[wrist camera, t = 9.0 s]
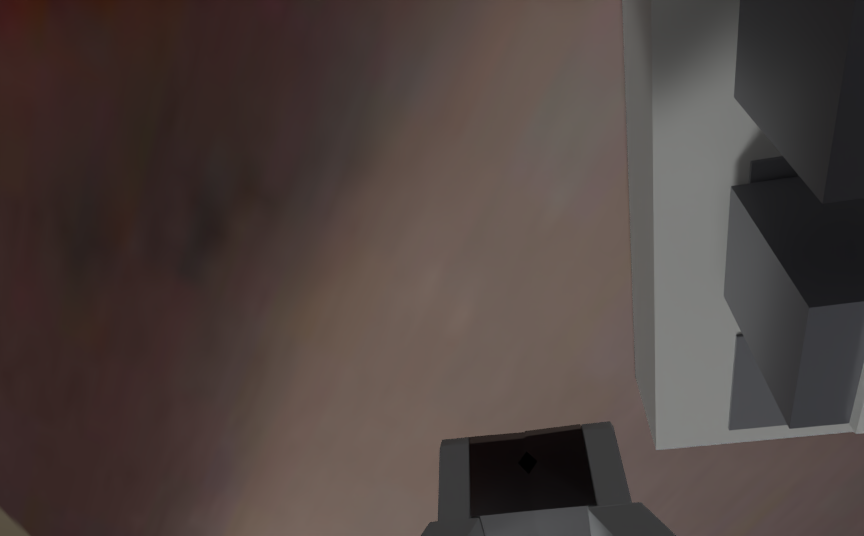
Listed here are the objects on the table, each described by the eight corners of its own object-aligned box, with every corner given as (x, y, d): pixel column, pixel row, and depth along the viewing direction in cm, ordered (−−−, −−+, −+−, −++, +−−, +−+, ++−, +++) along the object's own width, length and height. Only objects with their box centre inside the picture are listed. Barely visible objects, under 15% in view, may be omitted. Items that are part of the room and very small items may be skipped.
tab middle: (885, 163, 14) (1025, 293, 10) (860, 278, 15) (972, 423, 12) (731, 186, 14) (815, 317, 11) (723, 295, 16) (794, 439, 12)
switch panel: (1181, -267, 12) (1372, -278, 10) (966, 340, 21) (1035, 419, 18) (616, -140, 14) (652, -121, 11) (635, 377, 22) (657, 454, 20)
